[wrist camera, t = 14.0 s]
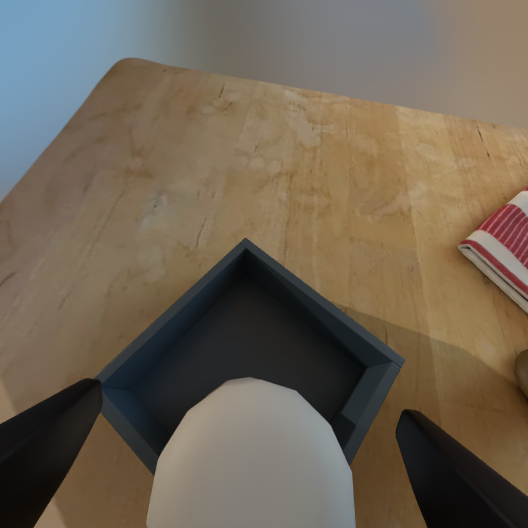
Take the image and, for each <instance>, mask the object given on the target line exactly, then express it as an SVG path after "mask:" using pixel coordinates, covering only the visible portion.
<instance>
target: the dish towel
mask: <svg viewBox="0 0 528 528" xmlns="http://www.w3.org/2000/svg"><path fill="white" fill-rule="evenodd" d="M457 247H458V249H459V250H460V251H461V252H462V253H463V255H465V256H466V257H467V258H468V259H469V260H471V261H472V262H473V263H474V264H475V265H476V266H477V267H478V268H479V269H480V270H481V271H482V272H483V273H484V274H485V275H487V276H488V277H489V278H490V279H491V280H492V281H493V282H494V283H495V284H496V285H498V286H499V287H500V288H501V289H502V290H503V291H504V292H505V293H506V294H507V295H508V296H509V297H510V298H511V299H512V300H514V301H515V302H516V303H517V304H518V305H519V306H520V307H521V308H522V309H523V310H524V311H525V312H527V313H528V187H526V188H525V189H524V190H522V191H521V192H520V193H519V194H517V195H516V196H515V197H514V198H513V199H512V200H511V201H509V202H508V203H507V204H506V205H504V206H502V207H501V208H500V209H498V210H497V211H496V212H494V213H493V214H491V215H490V216H489V217H488V218H487V219H486V220H485V221H483V222H482V223H481V224H480V225H479V226H478V227H477V229H476V230H475V231H474V232H473V233H472V234H471V235H470V236H468V237H467V238H466V239H464V240H463V241H462V242H461V243H460V244H459V245H458V246H457Z"/></svg>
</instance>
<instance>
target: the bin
mask: <svg viewBox="0 0 528 528" xmlns="http://www.w3.org/2000/svg"><path fill="white" fill-rule="evenodd" d="M404 362H405V359H404V358H403V357H401V356H400V355H399V354H397V353H396V352H395V351H393V350H392V349H391V348H389V347H388V346H387V345H386V344H384V343H383V342H382V341H380V340H379V339H378V338H376V337H375V336H374V335H372V334H371V333H370V332H369V331H367V330H366V329H365V328H363V327H362V326H361V325H359V324H358V323H357V322H355V321H354V320H353V319H351V318H350V317H349V316H348V315H346V314H345V313H344V312H342V311H341V310H340V309H338V308H337V307H336V306H334V305H333V304H332V303H331V302H329V301H328V300H327V299H325V298H324V297H323V296H321V295H320V294H319V293H317V292H316V291H315V290H313V289H312V288H311V287H310V286H308V285H307V284H306V283H304V282H303V281H302V280H300V279H299V278H298V277H296V276H295V275H294V274H292V273H291V272H290V271H289V270H287V269H286V268H285V267H283V266H282V265H281V264H279V263H278V262H277V261H275V260H274V259H273V258H272V257H270V256H269V255H268V254H266V253H265V252H264V251H262V250H261V249H260V248H258V247H257V246H256V245H254V244H253V243H252V242H251V241H249V240H248V239H247V238H244V239H243V240H242V241H241V242H240V243H239V244H238V245H237V246H236V247H235V248H234V249H232V250H231V251H230V252H229V253H228V254H227V255H226V256H225V257H224V258H223V259H222V260H221V261H219V262H218V263H217V264H216V265H215V266H214V267H213V268H212V269H211V270H210V271H209V272H208V273H206V274H205V275H204V276H203V277H202V278H201V279H200V280H199V281H198V282H197V283H196V284H195V285H193V286H192V287H191V288H190V289H189V290H188V291H187V292H186V293H185V294H184V295H183V296H182V297H180V298H179V299H178V300H177V301H176V302H175V303H174V304H173V305H172V306H171V307H170V308H168V309H167V310H166V311H165V312H164V313H163V314H162V315H161V316H160V317H159V318H158V319H157V320H155V321H154V322H153V323H152V324H151V325H150V326H149V327H148V328H147V329H146V330H145V331H144V332H142V333H141V334H140V335H139V336H138V337H137V338H136V339H135V340H134V341H133V342H132V343H131V344H129V345H128V346H127V347H126V348H125V349H124V350H123V351H122V352H121V353H120V354H119V355H118V356H116V357H115V358H114V359H113V360H112V361H111V362H110V363H109V364H108V365H107V366H106V367H105V368H103V369H102V370H101V371H100V372H99V373H98V374H97V375H96V376H95V377H94V378H93V379H98V380H100V381H101V384H102V396H103V405H102V408H101V411H100V412H101V413H102V414H103V416H104V417H105V418H106V419H107V420H108V422H109V423H110V424H111V425H112V426H113V428H114V429H115V430H116V431H117V432H118V433H119V435H120V436H121V437H122V438H123V439H124V441H125V442H126V443H127V444H128V445H129V447H130V448H131V449H132V450H133V451H134V453H135V454H136V455H137V456H138V457H139V459H140V460H141V461H142V462H143V463H144V465H145V466H146V467H147V468H148V469H149V471H150V472H151V473H152V474H153V475H154V477H155V472H156V467H157V462H158V459H159V457H160V455H161V453H162V451H163V450H164V448H165V446H166V445H167V443H168V442H169V440H170V439H171V437H172V435H173V434H174V432H175V431H176V429H177V427H178V426H179V424H180V423H181V421H182V419H183V418H184V416H185V415H186V413H187V411H188V410H190V409H191V408H192V407H194V406H195V405H197V404H198V403H199V402H201V401H202V400H203V399H205V398H206V397H207V395H208V394H210V393H211V392H212V391H214V390H215V389H216V388H218V387H219V386H220V385H221V384H223V383H224V382H225V381H227V380H231V379H238V378H245V377H252V378H255V379H258V380H259V379H260V380H264V381H267V382H270V383H273V384H276V385H279V386H283V387H286V388H289V389H292V390H295V391H297V392H298V393H299V394H300V395H301V396H302V397H303V398H304V399H305V400H306V401H307V402H308V403H309V404H310V405H311V406H312V407H313V408H314V409H315V410H316V411H317V412H318V413H319V414H320V415H321V416H322V417H323V418H324V419H325V420H326V421H327V422H328V423H329V424H330V425H331V428H332V430H333V432H334V434H335V436H336V439H337V441H338V443H339V445H340V447H341V450H342V452H343V454H344V456H345V458H346V461H347V463H348V465H349V466H350V464H351V462H352V460H353V459H354V457H355V455H356V453H357V451H358V449H359V447H360V445H361V443H362V441H363V440H364V438H365V436H366V434H367V432H368V430H369V428H370V426H371V424H372V422H373V420H374V419H375V417H376V415H377V413H378V411H379V409H380V407H381V405H382V403H383V401H384V399H385V398H386V396H387V394H388V392H389V390H390V388H391V386H392V384H393V382H394V380H395V378H396V377H397V375H398V373H399V371H400V368H401V367H402V365H403V363H404Z"/></svg>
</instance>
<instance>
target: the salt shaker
mask: <svg viewBox="0 0 528 528" xmlns="http://www.w3.org/2000/svg"><path fill="white" fill-rule="evenodd" d="M146 526H147V528H356V525H355V510H354V495H353V480H352V472H351V469H350V467H349V465H348V463H347V461H346V458H345V456H344V454H343V452H342V450H341V447H340V445H339V443H338V441H337V439H336V436H335V434H334V432H333V430H332V428H331V425H330V424H329V423H328V422H327V421H326V420H325V419H324V418H323V417H322V416H321V415H320V414H319V413H318V412H317V411H316V410H315V409H314V408H313V407H312V406H311V405H310V404H309V403H308V402H307V401H306V400H305V399H304V398H303V397H302V396H301V395H300V394H299V393H298V392H297V391H295V390H292V389H289V388H286V387H283V386H279V385H276V384H273V383H270V382H267V381H264V380H260V379H259V380H258V379H255V378H252V377H245V378H238V379H231V380H227V381H225V382H224V383H223V384H221V385H220V386H219V387H218V388H216V389H215V390H214V391H212V392H211V393H210V394H208V395H207V397H206V398H205V399H203V400H202V401H201V402H199V403H198V404H197V405H195V406H194V407H192V408H191V409H190V410H188V411H187V413H186V415H185V416H184V418H183V419H182V421H181V423H180V424H179V426H178V427H177V429H176V431H175V432H174V434H173V435H172V437H171V439H170V440H169V442H168V443H167V445H166V446H165V448H164V450H163V451H162V453H161V455H160V457H159V459H158V462H157V467H156V472H155V477H154V482H153V488H152V493H151V498H150V503H149V508H148V513H147V518H146Z"/></svg>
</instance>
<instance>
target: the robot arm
mask: <svg viewBox="0 0 528 528" xmlns="http://www.w3.org/2000/svg"><path fill="white" fill-rule="evenodd" d="M102 405H103V396H102V384H101V381H100V380H98V379H90V378H85V379H83V380H81V381H79V382H77V383H75V384H73V385H71V386H69V387H68V388H66V389H64V390H62V391H60V392H58V393H57V394H55V395H53V396H51V397H49V398H47V399H46V400H44V401H42V402H40V403H38V404H36V405H35V406H33V407H31V408H29V409H27V410H25V411H24V412H22V413H20V414H18V415H16V416H14V417H12V418H11V419H9V420H7V421H5V422H3V423H1V424H0V528H34V526H35V524H36V523H37V521H38V520H39V518H40V516H41V515H42V513H43V512H44V510H45V509H46V507H47V505H48V504H49V502H50V501H51V499H52V497H53V496H54V494H55V493H56V491H57V489H58V488H59V486H60V485H61V483H62V482H63V480H64V478H65V477H66V475H67V473H68V472H69V470H70V468H71V466H72V465H73V463H74V461H75V459H76V457H77V455H78V453H79V451H80V449H81V447H82V446H83V444H84V442H85V440H86V438H87V436H88V434H89V432H90V430H91V428H92V426H93V424H94V422H95V420H96V419H97V417H98V415H99V413H100V411H101V408H102ZM396 439H397V442H398V445H399V448H400V451H401V454H402V458H403V461H404V464H405V467H406V470H407V473H408V476H409V480H410V483H411V486H412V489H413V492H414V495H415V498H416V500H417V503H418V505H419V508H420V511H421V513H422V515H423V518H424V520H425V523H426V525H427V528H528V497H527V496H526V495H525V494H524V493H522V492H521V491H520V490H519V489H517V488H516V487H515V486H513V485H512V484H511V483H510V482H508V481H507V480H506V479H505V478H503V477H502V476H501V475H500V474H498V473H497V472H496V471H494V470H493V469H492V468H491V467H489V466H488V465H487V464H486V463H484V462H483V461H482V460H481V459H479V458H478V457H477V456H475V455H474V454H473V453H472V452H470V451H469V450H468V449H467V448H465V447H464V446H463V445H461V444H460V443H459V442H458V441H456V440H455V439H454V438H453V437H451V436H450V435H449V434H448V433H446V432H445V431H444V430H442V429H441V428H440V427H439V426H437V425H436V424H435V423H434V422H432V421H431V420H430V419H428V418H427V417H426V416H425V415H423V414H422V413H421V412H419V411H417V410H409V409H405V410H403V411H402V413H401V416H400V419H399V422H398V425H397V428H396Z"/></svg>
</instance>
